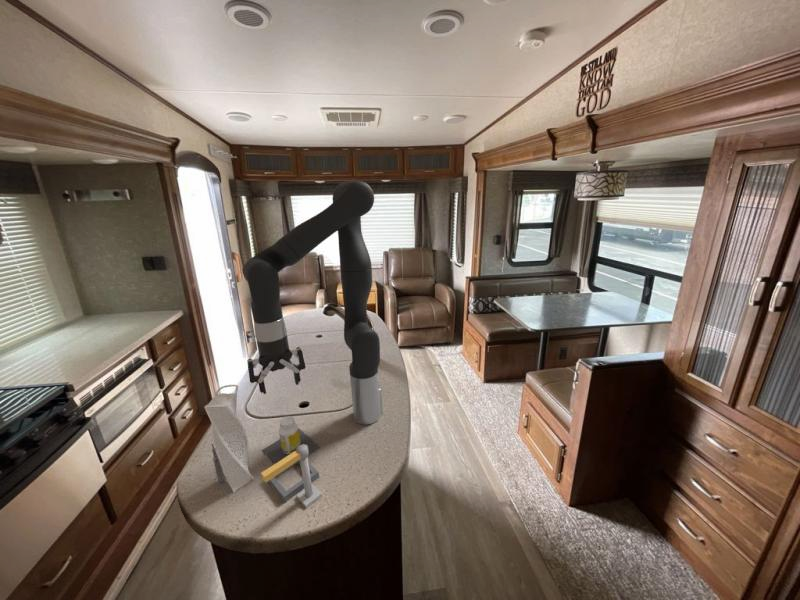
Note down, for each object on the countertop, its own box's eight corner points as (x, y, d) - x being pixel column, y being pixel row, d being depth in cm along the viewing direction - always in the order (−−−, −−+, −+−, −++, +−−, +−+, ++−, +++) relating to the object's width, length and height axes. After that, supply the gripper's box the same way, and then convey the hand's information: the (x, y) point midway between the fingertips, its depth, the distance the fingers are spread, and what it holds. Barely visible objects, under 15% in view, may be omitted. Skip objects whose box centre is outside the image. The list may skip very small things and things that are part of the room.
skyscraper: (248, 462, 89) (229, 377, 80) (262, 478, 84) (243, 388, 75) (217, 482, 83) (192, 392, 74) (229, 500, 78) (204, 406, 69)
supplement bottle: (303, 440, 96) (299, 414, 93) (298, 454, 90) (293, 426, 87) (285, 441, 95) (280, 414, 92) (279, 455, 90) (274, 427, 87)
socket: (299, 458, 90) (294, 421, 86) (330, 488, 80) (326, 449, 76) (266, 480, 83) (259, 441, 79) (296, 516, 73) (288, 474, 69)
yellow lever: (304, 449, 76) (304, 442, 75) (310, 454, 74) (309, 448, 73) (261, 478, 68) (259, 471, 67) (266, 484, 66) (265, 477, 66)
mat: (298, 429, 101) (298, 428, 101) (319, 447, 93) (319, 446, 93) (262, 450, 93) (262, 449, 93) (282, 472, 85) (282, 471, 85)
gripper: (296, 324, 88) (304, 374, 93) (241, 335, 82) (252, 388, 87) (301, 333, 81) (309, 387, 86) (241, 346, 75) (254, 403, 80)
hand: (281, 387), depth 86 cm, fingers open, 8 cm apart
